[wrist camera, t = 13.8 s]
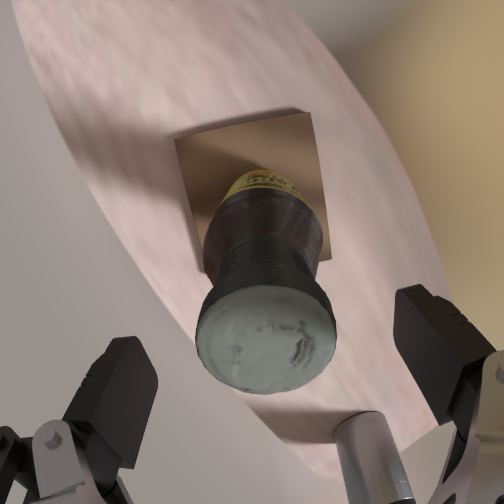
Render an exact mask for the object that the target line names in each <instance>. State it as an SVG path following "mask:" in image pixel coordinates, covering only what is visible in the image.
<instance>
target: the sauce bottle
mask: <svg viewBox="0 0 504 504" xmlns="http://www.w3.org/2000/svg"><path fill="white" fill-rule="evenodd" d="M322 245H323V231H322V227H321V224H320V222H319V220H318V218H317V216H316V214H315V213H314V212H313V210H312V209H311V208H310V206H309V205H308V203H307V202H306V201H305V199H304V198H303V196H302V195H301V194H300V192H299V191H298V190H297V189H296V187H295V186H294V185H293V184H292V182H291V181H290V180H289V179H287V178H286V177H285V176H283V175H282V174H280V173H278V172H275V171H272V170H264V169H262V170H254V171H251V172H248V173H246V174H244V175H242V176H241V177H240V178H238V179H237V180H236V181H235V183H234V184H233V185H232V186H231V188H230V189H229V191H228V193H227V194H226V196H225V198H224V199H223V200H222V202H221V204H220V205H219V207H218V208H217V210H216V212H215V213H214V216H213V218H212V221H211V222H210V224H209V227H208V230H207V232H206V234H205V238H204V244H203V263H204V270H205V272H206V274H207V276H208V278H209V279H210V281H211V283H212V285H213V286H214V287H213V288H212V289H211V291H210V292H209V293H208V295H207V297H206V298H205V300H204V302H203V304H202V308H201V311H200V314H199V318H198V323H197V328H196V335H195V343H196V347H197V353H198V357H199V358H200V359H201V361H202V363H203V365H204V367H205V368H206V369H207V370H208V371H209V372H210V373H211V374H212V375H213V376H214V377H215V378H216V379H217V380H219V381H220V382H222V383H224V384H226V385H229V386H231V387H233V388H235V389H238V390H240V391H242V392H246V393H251V394H262V395H268V394H274V393H278V392H286V391H291V390H294V389H297V388H299V387H301V386H303V385H305V384H307V383H309V382H310V381H311V380H313V379H314V378H316V377H317V376H318V375H320V374H321V373H322V371H323V370H324V369H325V368H326V366H327V365H328V364H329V362H330V361H331V359H332V357H333V355H334V352H335V348H336V340H337V331H336V320H335V318H334V314H333V311H332V307H331V303H330V301H329V299H328V297H327V295H326V293H325V292H324V291H323V290H322V288H321V287H320V286H319V284H318V283H316V281H315V277H316V273H317V268H318V264H319V259H320V254H321V250H322Z"/></svg>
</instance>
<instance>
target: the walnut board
mask: <svg viewBox="0 0 504 504" xmlns="http://www.w3.org/2000/svg"><path fill="white" fill-rule="evenodd" d="M174 141H175V145H176V150H177V154H178V158H179V162H180V166H181V171H182V175H183V179H184V183H185V187H186V191H187V195H188V199H189V203H190V206H191V210H192V214H193V218H194V222H195V225H196V229H197V233H198V237H199V240H200V244H201V248H202V251H203V244H204V238H205V234H206V232H207V230H208V227H209V224H210V222H211V221H212V218H213V216H214V213H215V212H216V210H217V208H218V207H219V205H220V204H221V202H222V200H223V199H224V198H225V196H226V194H227V193H228V191H229V189H230V188H231V186H232V185H233V184H234V183H235V181H236V180H237V179H238V178H240V177H241V176H242V175H244V174H246V173H248V172H251V171H254V170H262V169H264V170H272V171H275V172H278V173H280V174H282V175H283V176H285V177H286V178H287V179H289V180H290V181H291V182H292V184H293V185H294V186H295V187H296V189H297V190H298V191H299V192H300V194H301V195H302V196H303V198H304V199H305V201H306V202H307V203H308V205H309V206H310V208H311V209H312V210H313V212H314V213H315V214H316V216H317V218H318V220H319V222H320V224H321V227H322V231H323V245H322V250H321V254H320V259H319V262H320V261H325V260H330V259H332V256H331V246H330V237H329V228H328V220H327V212H326V204H325V197H324V190H323V183H322V177H321V170H320V164H319V158H318V152H317V146H316V140H315V135H314V129H313V124H312V119H311V114H310V112H306V113H299V114H292V115H285V116H279V117H273V118H267V119H261V120H256V121H251V122H246V123H241V124H236V125H231V126H226V127H222V128H217V129H213V130H209V131H205V132H201V133H197V134H193V135H189V136H185V137H181V138H178V139H174Z"/></svg>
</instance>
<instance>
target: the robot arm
mask: <svg viewBox="0 0 504 504" xmlns="http://www.w3.org/2000/svg"><path fill="white" fill-rule="evenodd" d="M393 336H394V342H395V345H396V348H397V350H398V352H399V353H400V355H401V357H402V358H403V360H404V362H405V364H406V365H407V367H408V369H409V370H410V372H411V374H412V376H413V378H414V379H415V381H416V383H417V385H418V386H419V388H420V390H421V392H422V394H423V396H424V397H425V399H426V401H427V403H428V405H429V407H430V409H431V410H432V412H433V414H434V416H435V418H436V420H437V422H438V424H439V426H441V425H443V424H445V423H448V422H450V421H452V420H453V422H454V424H455V425H456V428H455V430H454V432H453V437H452V440H451V444H450V448H449V451H448V455H447V458H446V461H445V465H444V467H443V470H442V474H441V476H440V479H439V482H438V485H437V487H436V490H435V492H434V494H433V495H432V497H431V499H430V500H429V502H428V504H504V350H501V351H496V349H495V348H494V347H493V346H492V345H491V344H490V343H489V342H488V341H487V339H486V338H485V337H484V336H483V335H482V334H481V333H480V332H479V331H478V330H477V329H476V327H475V326H474V325H473V324H472V323H471V322H468V319H467V318H466V317H465V316H464V315H463V314H461V312H460V311H459V310H458V309H457V308H456V307H455V306H454V305H453V304H452V303H451V302H450V301H448V300H446V299H444V298H442V297H440V296H434V297H433V296H432V294H431V293H430V292H429V291H428V290H427V289H426V288H425V287H424V286H423V285H421V284H417V285H413V286H409V287H406V288H402V289H398V290H397V291H396V295H395V311H394V327H393ZM157 388H158V378H157V374H156V371H155V369H154V367H153V365H152V363H151V361H150V359H149V358H148V356H147V354H146V352H145V350H144V348H143V345H142V343H141V342H140V340H139V339H138V338H137V337H136V336H129V337H118V338H114V339H112V341H111V342H110V344H109V346H108V347H107V349H106V351H105V353H104V354H102V355H101V356H100V357H99V358H98V359H97V360H96V361H95V362H94V363H93V364H92V365H91V367H90V369H89V371H88V373H87V374H86V377H85V378H84V379H83V381H82V383H81V387H79V388H78V390H77V392H76V394H75V396H74V398H73V400H72V401H71V403H70V405H69V407H68V409H67V411H66V413H65V414H64V416H63V418H62V420H51V421H49V422H47V423H45V424H43V425H42V426H41V427H40V428H39V429H38V430H37V431H36V433H35V435H34V437H27V438H20V437H19V436H18V435H17V434H16V433H15V432H14V431H13V430H12V429H11V428H10V427H8V426H2V427H0V504H5V502H6V499H7V497H8V494H9V491H10V489H11V486H12V483H13V481H14V479H15V480H16V481H17V482H18V483H20V484H21V485H22V486H23V487H25V488H26V489H27V490H28V491H27V493H26V496H25V499H24V502H23V504H133V501H132V500H131V498H130V496H129V494H128V492H127V490H126V488H125V486H124V483H123V481H122V479H121V478H120V477H119V475H117V473H118V469H119V467H120V468H127V469H134V467H135V463H136V460H137V456H138V452H139V449H140V445H141V442H142V439H143V435H144V432H145V428H146V425H147V421H148V418H149V415H150V412H151V408H152V405H153V402H154V399H155V395H156V392H157ZM334 437H335V442H336V446H337V450H338V455H339V459H340V464H341V468H342V473H343V477H344V482H345V486H346V491H347V496H348V501H349V504H416V501H415V499H414V496H413V493H412V490H411V487H410V484H409V481H408V478H407V475H406V472H405V469H404V467H403V464H402V461H401V458H400V455H399V452H398V450H397V447H396V444H395V442H394V439H393V436H392V433H391V431H390V428H389V426H388V423H387V420H386V418H385V416H384V415H383V414H382V413H379V412H366V413H362V414H359V415H356V416H353V417H351V418H349V419H347V420H345V421H344V422H343V423H341V424H340V425H339V426H338V427H337V428H336V430H335V432H334Z"/></svg>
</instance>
